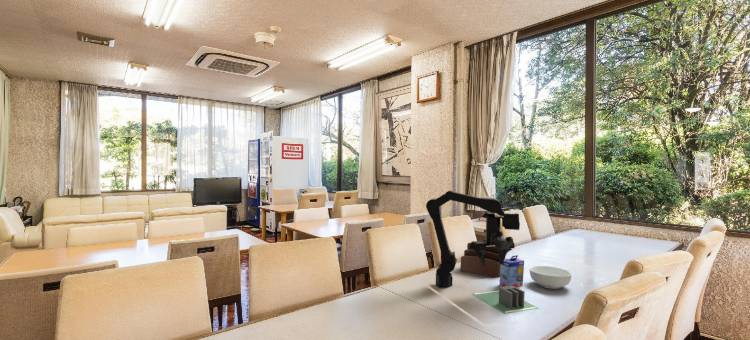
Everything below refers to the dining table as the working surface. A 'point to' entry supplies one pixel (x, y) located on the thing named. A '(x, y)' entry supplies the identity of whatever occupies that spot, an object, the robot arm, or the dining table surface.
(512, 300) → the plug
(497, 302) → the board
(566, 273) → the cereal bowl
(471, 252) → the letter holder
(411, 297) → the dining table surface
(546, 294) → the dining table surface
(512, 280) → the ink cartridge box
